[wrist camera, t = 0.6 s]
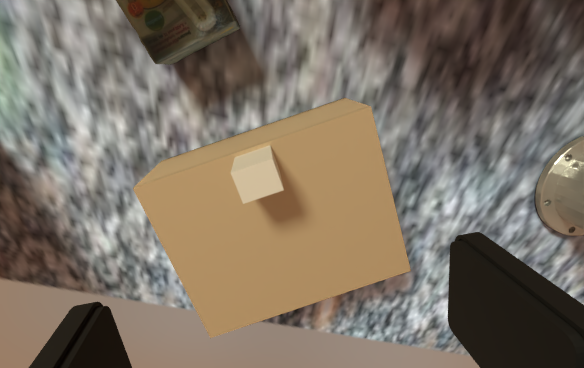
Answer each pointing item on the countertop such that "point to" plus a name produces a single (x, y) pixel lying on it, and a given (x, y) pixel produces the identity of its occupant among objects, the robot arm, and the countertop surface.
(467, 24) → the countertop surface
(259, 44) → the countertop surface
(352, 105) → the carton
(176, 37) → the beverage carton
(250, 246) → the carton lid
